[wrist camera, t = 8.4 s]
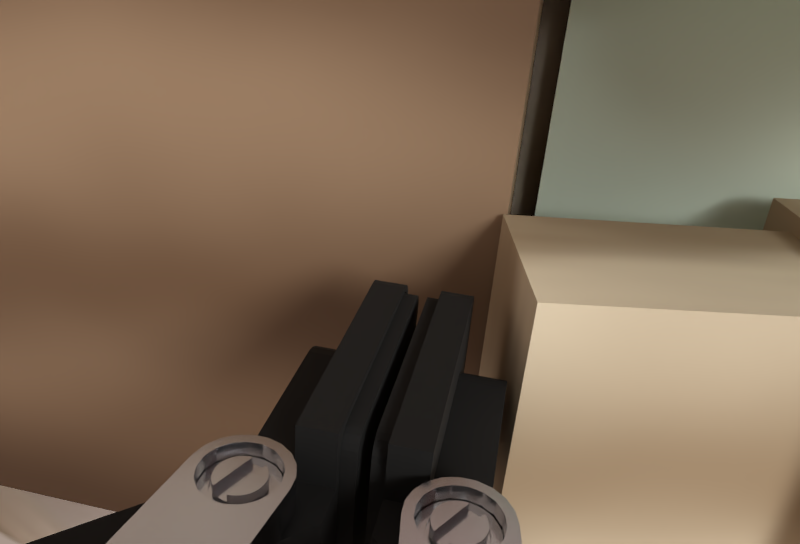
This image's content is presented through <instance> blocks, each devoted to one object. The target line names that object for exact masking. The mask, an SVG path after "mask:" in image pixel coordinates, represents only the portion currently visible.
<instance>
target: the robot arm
mask: <svg viewBox="0 0 800 544" xmlns="http://www.w3.org/2000/svg"><path fill="white" fill-rule="evenodd" d="M418 303H419V297H418V295H412V294H408V286H407V285H404V284H398V283H392V282H386V281H380V280H375V281H374V282H373V284H372V285H371V287H370V289H369V291H368V293H367V295H366V296H365V298H364V300H363V302H362V304H361V306H360V307H359V309H358V311H357V313H356V315H355V317H354V318H353V320H352V322H351V324H350V326H349V328H348V329H347V331H346V333H345V335H344V337H343V339H342V340H341V342H340V344H339V346H338V348H337V350H336V349H331V348H325V347H320V346H313V347H312V348H311V349H310V350H309V351H308V353H307V355H306V356H305V358H304V360H303V361H302V363H301V365H300V366H299V368H298V370H297V371H296V373H295V374H294V376H293V378H292V379H291V381H290V383H289V384H288V386H287V388H286V389H285V391H284V393H283V394H282V396H281V397H280V399H279V401H278V402H277V404H276V406H275V407H274V409H273V411H272V412H271V414H270V416H269V417H268V419H267V420H266V422H265V424H264V425H263V427H262V429H261V430H260V432H259V434H258V435H233V436H228V437H224V438H219V439H217V440H215V441H212V442H210V443H208V444H206V445H204V446H202V447H201V448H200V449H199V450H197V451H196V452H195V453H193V454H192V455H191V456H190V457H189V458H188V459H187V460H186V461H185V462H184V463H183V464H182V465H181V466H180V467H179V468H178V469H177V471H176V472H175V473H174V474H173V475H172V476H171V477H170V478H169V479H168V480H167V481H166V482H165V483H164V484H163V485H162V486H161V487H160V488H159V489H158V490H157V491H156V492H155V493H154V494H153V495H152V496H151V497H150V498H149V499H148V500H147V501H146V502H144V503H142V504H139V505H136V506H133V507H130V508H127V509H124V510H121V511H119V512H116V513H113V514H110V515H107V516H104V517H101V518H98V519H96V520H93V521H90V522H87V523H84V524H81V525H78V526H75V527H73V528H70V529H67V530H64V531H61V532H58V533H55V534H52V535H50V536H47V537H44V538H41V539H38V540H35V541H32V542H29V543H27V544H522V539H521V531H520V524H519V521H518V518H517V514H516V511H515V510H514V508H513V507H512V506H511V504H510V503H509V502H508V500H507V499H506V498H505V497H504V496H503V495H501V494H500V493H499V492H497V491H496V490H495V489H493V484H494V477H495V469H496V462H497V454H498V447H499V440H500V432H501V425H502V417H503V410H504V402H505V395H506V387H507V381H505V380H500V379H494V378H489V377H484V376H478V375H473V374H467V373H464V369H465V362H466V354H467V347H468V340H469V333H470V326H471V319H472V312H473V304H474V296H470V295H464V294H458V293H452V292H446V291H441V293H440V296H439V299H436V298H430V297H427V299H426V302H425V305H424V307H423V310H422V313H421V315H420V318H419V321H418V323H417V313H418ZM416 323H417V326H416Z"/></svg>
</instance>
